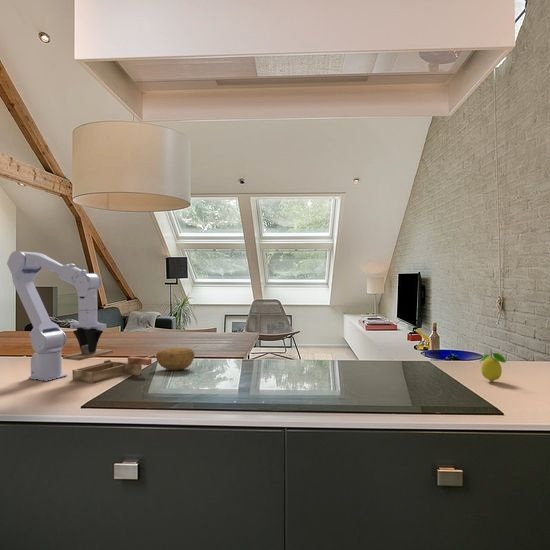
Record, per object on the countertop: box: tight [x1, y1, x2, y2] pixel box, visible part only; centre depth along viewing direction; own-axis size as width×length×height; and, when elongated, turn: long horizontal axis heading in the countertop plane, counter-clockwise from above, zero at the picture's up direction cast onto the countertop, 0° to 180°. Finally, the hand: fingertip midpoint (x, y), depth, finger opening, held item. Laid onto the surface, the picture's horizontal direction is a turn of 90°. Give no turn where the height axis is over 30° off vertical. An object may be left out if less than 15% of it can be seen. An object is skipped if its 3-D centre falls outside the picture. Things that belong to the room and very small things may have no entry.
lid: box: [62, 345, 114, 361], centre depth 135 cm, size 7×13×3 cm, turn 155°
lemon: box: [479, 350, 507, 383], centre depth 126 cm, size 7×6×10 cm
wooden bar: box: [127, 356, 152, 366], centre depth 141 cm, size 9×2×2 cm, turn 64°
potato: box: [155, 346, 196, 371], centre depth 148 cm, size 10×14×8 cm
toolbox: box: [71, 359, 143, 384], centre depth 139 cm, size 16×16×4 cm
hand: (88, 351), depth 135 cm, fingers closed on lid, 3 cm apart
